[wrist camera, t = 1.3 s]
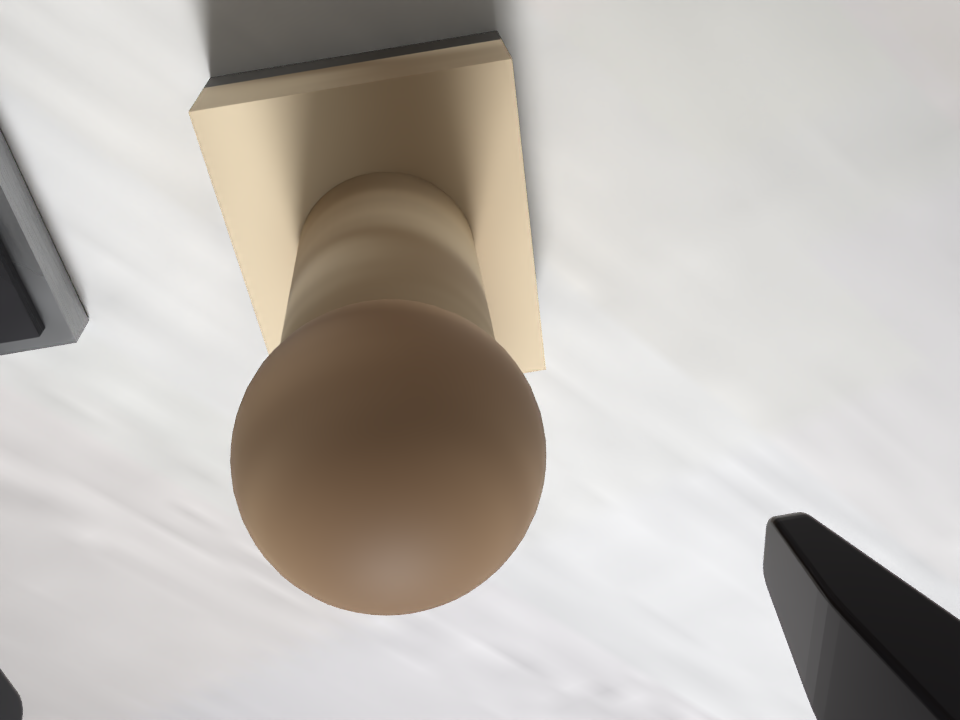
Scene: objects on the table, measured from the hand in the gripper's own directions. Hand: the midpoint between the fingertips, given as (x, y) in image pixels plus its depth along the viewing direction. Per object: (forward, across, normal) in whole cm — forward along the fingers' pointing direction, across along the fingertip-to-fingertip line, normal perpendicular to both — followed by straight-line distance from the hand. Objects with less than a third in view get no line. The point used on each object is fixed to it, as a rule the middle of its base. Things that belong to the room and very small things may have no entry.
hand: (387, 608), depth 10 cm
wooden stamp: (+12, 0, 0) cm, 12 cm away
